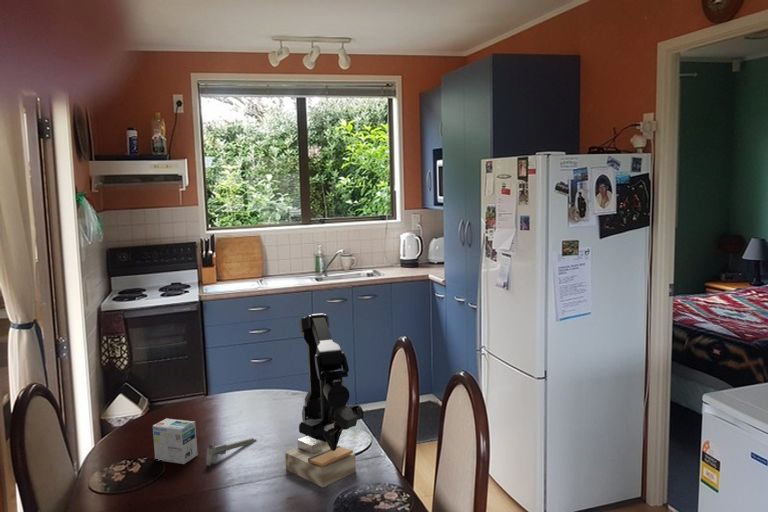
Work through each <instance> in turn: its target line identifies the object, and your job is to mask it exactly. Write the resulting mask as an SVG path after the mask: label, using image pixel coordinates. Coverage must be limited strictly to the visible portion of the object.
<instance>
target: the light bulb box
mask: <svg viewBox="0 0 768 512" xmlns="http://www.w3.org/2000/svg"><path fill="white" fill-rule="evenodd" d="M152 434H153V435H152V437H153V447H154V460H155V459H158V460H157V461H160V460H162V461H161V462H168V463H174V464H180V465H181V464H182V465H186V463H189V462H190V461H191V460H193V459H194V458H195V457H197V456H198V455H199V454H198V443H197V442H198V441H197V429H196V421H195V420H193V421H192V420H183V419H174V418H167V417H166V418H165V419H163V420H160V421H158V422H157V423H155V424H153V425H152Z"/></svg>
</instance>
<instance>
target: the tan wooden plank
mask: <svg viewBox="0 0 768 512" xmlns="http://www.w3.org/2000/svg"><path fill="white" fill-rule="evenodd" d="M351 453H353V454H354V450H353V449H350V448H347V447H342V446H341V445H337V448H336V450H335V451H332V450H331V449H329V450H327V451H325V452H322V453H320V454H318V455H315V456H313V457H310V458H308V462H311V463H314V464H317V465H320V466H324V465H326V464H329V463H331V462H333V461H335V460H338V459H340V458H342V457H344V456H347V455H349V454H351Z"/></svg>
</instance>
